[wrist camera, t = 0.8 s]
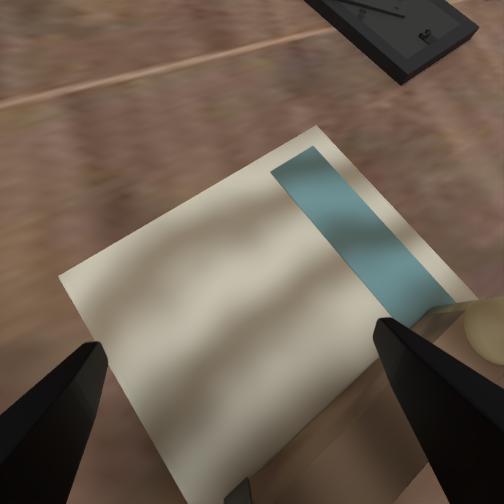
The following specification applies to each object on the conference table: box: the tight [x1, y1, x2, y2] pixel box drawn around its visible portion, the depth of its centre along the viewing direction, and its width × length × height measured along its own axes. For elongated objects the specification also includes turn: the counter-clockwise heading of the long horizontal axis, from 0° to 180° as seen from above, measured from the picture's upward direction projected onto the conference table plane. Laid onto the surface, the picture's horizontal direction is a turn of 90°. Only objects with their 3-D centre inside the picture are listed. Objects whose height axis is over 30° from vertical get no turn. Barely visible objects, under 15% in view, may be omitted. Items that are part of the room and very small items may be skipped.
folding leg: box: [224, 296, 504, 504], centre depth 15 cm, size 19×4×5 cm, turn 127°
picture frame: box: [304, 0, 479, 85], centre depth 32 cm, size 13×2×18 cm
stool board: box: [58, 125, 479, 504], centre depth 20 cm, size 22×23×3 cm
